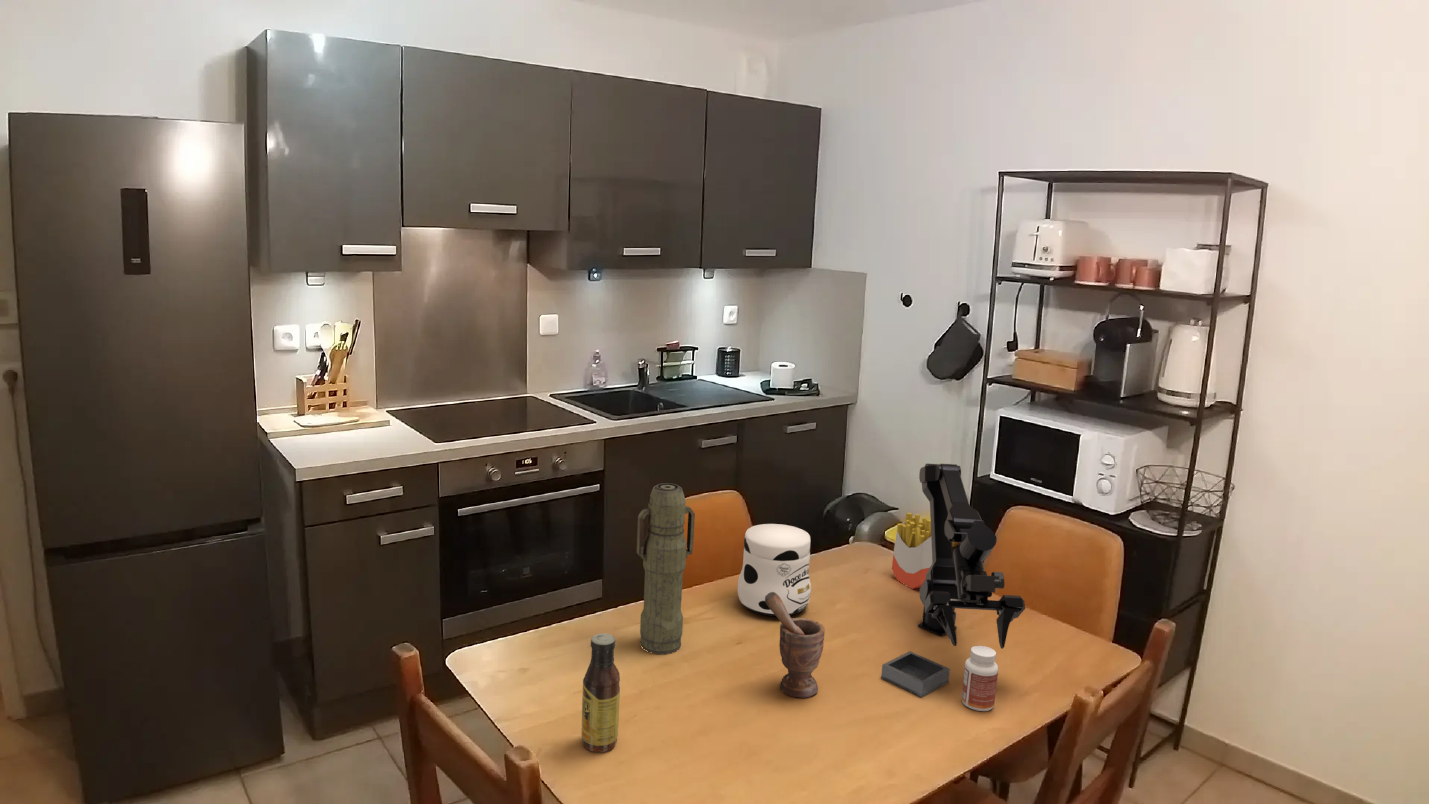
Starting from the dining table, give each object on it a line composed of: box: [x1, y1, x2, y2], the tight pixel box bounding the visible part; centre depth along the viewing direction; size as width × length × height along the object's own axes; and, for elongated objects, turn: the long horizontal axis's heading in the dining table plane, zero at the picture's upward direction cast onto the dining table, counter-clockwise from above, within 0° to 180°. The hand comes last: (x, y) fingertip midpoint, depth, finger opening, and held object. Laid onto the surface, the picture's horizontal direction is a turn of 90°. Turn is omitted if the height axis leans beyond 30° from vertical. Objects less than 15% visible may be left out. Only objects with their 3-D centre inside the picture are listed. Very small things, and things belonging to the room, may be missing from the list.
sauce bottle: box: [581, 632, 621, 753], centre depth 152 cm, size 7×6×20 cm
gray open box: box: [880, 650, 951, 698], centre depth 182 cm, size 10×10×3 cm
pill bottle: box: [961, 645, 999, 712], centre depth 174 cm, size 6×6×11 cm
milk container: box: [737, 523, 812, 617], centre depth 212 cm, size 17×17×18 cm
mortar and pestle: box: [765, 592, 826, 698], centre depth 174 cm, size 12×9×20 cm
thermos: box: [636, 482, 696, 655], centre depth 188 cm, size 9×12×35 cm
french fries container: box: [891, 512, 932, 590], centre depth 231 cm, size 5×11×18 cm, turn 29°
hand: (978, 646), depth 176 cm, fingers open, 9 cm apart
